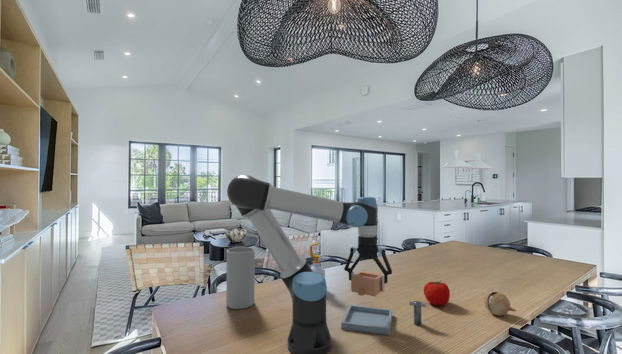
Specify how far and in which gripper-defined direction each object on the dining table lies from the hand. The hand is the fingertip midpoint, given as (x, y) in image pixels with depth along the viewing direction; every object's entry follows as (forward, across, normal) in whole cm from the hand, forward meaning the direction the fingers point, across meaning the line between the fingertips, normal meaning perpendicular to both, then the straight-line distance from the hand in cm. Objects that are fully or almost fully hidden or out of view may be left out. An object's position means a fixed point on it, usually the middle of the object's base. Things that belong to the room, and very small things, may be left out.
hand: (368, 289), depth 125 cm
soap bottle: (+13, +30, -29) cm, 44 cm away
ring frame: (0, 0, 0) cm, 0 cm away
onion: (+13, -52, -22) cm, 58 cm away
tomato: (+13, -28, -28) cm, 42 cm away
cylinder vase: (+13, +58, -1) cm, 60 cm away
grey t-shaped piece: (+13, -19, -4) cm, 23 cm away
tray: (+13, 0, 0) cm, 13 cm away
